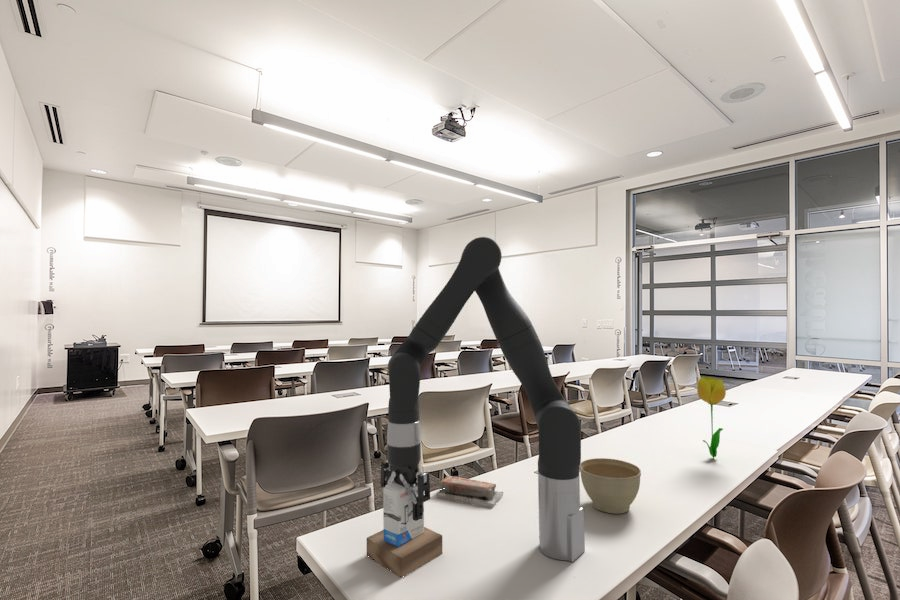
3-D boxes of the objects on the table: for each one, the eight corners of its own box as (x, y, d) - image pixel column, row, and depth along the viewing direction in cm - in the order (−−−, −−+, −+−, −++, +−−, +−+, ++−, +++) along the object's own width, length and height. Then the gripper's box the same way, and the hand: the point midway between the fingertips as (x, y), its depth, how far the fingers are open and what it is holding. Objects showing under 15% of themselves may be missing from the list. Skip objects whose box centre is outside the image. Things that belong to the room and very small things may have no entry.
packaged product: (435, 482, 125) (449, 471, 134) (435, 499, 125) (449, 487, 134) (492, 492, 117) (503, 479, 126) (493, 510, 117) (504, 496, 126)
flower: (705, 461, 152) (702, 378, 154) (696, 454, 160) (693, 375, 162) (731, 463, 151) (728, 378, 152) (721, 455, 159) (718, 375, 160)
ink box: (397, 548, 90) (397, 492, 90) (382, 540, 93) (382, 486, 94) (425, 532, 96) (425, 480, 97) (410, 525, 100) (409, 475, 100)
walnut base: (442, 553, 95) (442, 535, 95) (401, 578, 86) (401, 558, 86) (406, 535, 103) (406, 518, 103) (366, 556, 94) (366, 537, 94)
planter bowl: (612, 491, 128) (611, 454, 128) (655, 514, 113) (654, 472, 113) (568, 500, 122) (567, 461, 122) (607, 525, 107) (606, 481, 107)
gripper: (438, 442, 94) (438, 517, 93) (396, 431, 103) (396, 499, 102) (413, 451, 88) (413, 530, 87) (371, 438, 98) (371, 509, 97)
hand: (404, 513), depth 95 cm, fingers open, 8 cm apart
